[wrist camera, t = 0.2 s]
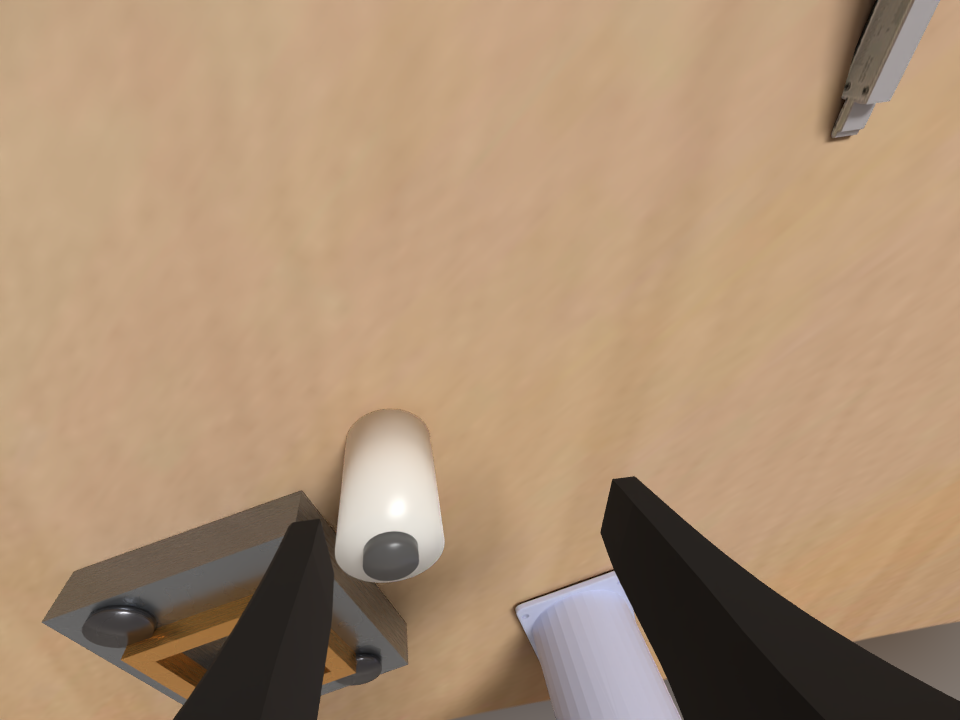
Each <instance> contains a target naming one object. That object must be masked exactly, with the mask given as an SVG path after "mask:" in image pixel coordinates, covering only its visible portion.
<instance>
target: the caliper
mask: <svg viewBox="0 0 960 720" xmlns="http://www.w3.org/2000/svg"><path fill="white" fill-rule="evenodd" d="M939 1H940V0H876V2H875V4H874V6H873V9H872V11H871V13H870V16H869V18H868V20H867V23H866V25H865V28H864V30H863V32H862V35H861V37H860V39H859V42H858V44H857V46H856V49H855V52H854V56H853V59H852V63H851V66H850V70H849V73H848V77H847V80H846V84H845V87H844V91H843V94H842V99H845V100H846V101H845V103H844V105H843V107H842V110H841V112H840V114H839V116H838V118H837V120H836V123H835V125H834V128H833V131H832V133H831V136H832V138H836V137H843V136H849V135H856V134H857V133H858V132H859V130H860V129H864V127H865V125H866V123H867V121H868V119H869V117H870V115H871V113H872V110H873V108H874V106H875V104H876V103H880V102H887V101H890V100H891V98H892V96H893V94H894V92H895V90H896V88H897V86H898V84H899V82H900V80H901V78H902V76H903V74H904V72H905V70H906V68H907V66H908V64H909V62H910V60H911V58H912V56H913V54H914V52H915V50H916V48H917V46H918V44H919V42H920V40H921V38H922V36H923V34H924V32H925V30H926V28H927V26H928V24H929V21H930V19H931V17H932V15H933V13H934V11H935V9H936V7H937V5H938V3H939Z"/></svg>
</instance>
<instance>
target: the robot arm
mask: <svg viewBox="0 0 960 720" xmlns="http://www.w3.org/2000/svg"><path fill="white" fill-rule="evenodd" d="M601 535H602V538H603V541H604V544H605V547H606V550H607V552H608V555H609V558H610V561H611V563H612V566H613V568H614V571H612V572H609V573H606V574H604V575H601V576H598V577H595V578H592V579H590V580H587V581H584V582H581V583H578V584H576V585H573V586H570V587H567V588H564V589H562V590H559V591H556V592H553V593H550V594H548V595H545V596H542V597H539V598H536V599H533V600H531V601H528V602H525V603H522V604H520V605H518V606H517V607H516V609H515V610H516V614H517V617H518V619H519V621H520V623H521V625H522V627H523V629H524V631H525V633H526V635H527V637H528V639H529V641H530V643H531V645H532V647H533V649H534V651H535V653H536V655H537V657H538V659H539V661H540V663H541V667H542V670H543V674H544V678H545V681H546V685H547V689H548V692H549V696H550V700H551V703H552V707H553V710H554V714H555V718H556V720H682V719H681V717H680V715H679V713H678V711H677V709H676V706H675V704H674V702H673V700H672V698H671V696H670V694H669V692H668V689H667V687H666V685H665V683H664V681H663V679H662V677H661V675H660V673H659V670H658V668H657V666H656V664H655V662H654V660H653V658H652V656H651V654H650V651H649V649H648V647H647V645H646V643H645V641H644V639H643V637H642V634H641V632H640V630H639V628H638V626H637V624H636V621H635V616H634V612H635V614H636V616H637V618H638V620H639V622H640V624H641V626H642V628H643V630H644V632H645V634H646V636H647V638H648V640H649V642H650V644H651V646H652V647H653V649H654V651H655V653H656V655H657V657H658V659H659V661H660V664H661V666H662V668H663V670H664V672H665V674H666V677H667V679H668V681H669V683H670V686H671V688H672V691H673V693H674V696H675V698H676V701H677V703H678V706H679V708H680V710H681V713H682V715H683V718H684V720H960V701H958V700H956V699H954V698H952V697H950V696H948V695H946V694H945V693H943V692H941V691H939V690H937V689H935V688H933V687H931V686H929V685H928V684H926V683H924V682H922V681H920V680H919V679H917V678H915V677H913V676H911V675H909V674H907V673H905V672H904V671H902V670H900V669H898V668H897V667H895V666H893V665H891V664H889V663H888V662H886V661H884V660H882V659H881V658H879V657H877V656H875V655H874V654H872V653H870V652H868V651H867V650H865V649H863V648H862V647H860V646H858V645H857V644H855V643H854V642H852V641H850V640H849V639H847V638H845V637H844V636H842V635H841V634H839V633H837V632H836V631H834V630H832V629H831V628H829V627H827V626H826V625H824V624H823V623H821V622H820V621H818V620H817V619H815V618H813V617H812V616H810V615H809V614H807V613H806V612H804V611H803V610H801V609H800V608H798V607H797V606H796V605H794V604H793V603H791V602H790V601H788V600H787V599H785V598H784V597H782V596H781V595H779V594H778V593H776V592H775V591H774V590H772V589H771V588H769V587H768V586H767V585H765V584H764V583H763V582H761V581H760V580H758V579H757V578H756V577H754V576H753V575H752V574H750V573H749V572H748V571H747V570H745V569H744V568H743V567H741V566H740V565H739V564H737V563H736V562H735V561H733V560H732V559H731V558H730V557H728V556H727V555H726V554H725V553H723V552H722V551H721V550H720V549H718V548H717V547H716V546H715V545H713V544H712V543H711V542H710V541H709V540H707V539H706V538H705V537H704V536H703V535H701V534H700V533H699V532H698V531H697V530H695V529H694V528H693V527H692V526H691V525H690V524H688V523H687V522H686V521H685V520H684V519H683V518H681V517H680V516H679V515H678V514H677V513H676V512H675V511H673V510H672V509H671V508H670V507H669V506H668V505H667V504H665V503H664V502H663V501H662V500H661V499H660V498H659V497H658V496H656V495H655V494H654V493H653V492H652V491H651V490H650V489H648V488H647V487H646V486H645V485H644V484H643V483H642V482H641V481H639V480H638V479H637V478H636V477H635V476H633V477H626V478H618V479H612V483H611V488H610V492H609V497H608V501H607V505H606V510H605V514H604V519H603V523H602V528H601ZM333 589H334V571H333V567H332V563H331V559H330V555H329V551H328V547H327V543H326V539H325V535H324V531H323V527H322V523H321V519H314V520H306V521H299V522H293V523H292V524H291V525H289V526H288V529H287V531H286V533H285V535H284V537H283V539H282V541H281V543H280V545H279V547H278V549H277V551H276V553H275V555H274V557H273V559H272V561H271V563H270V565H269V567H268V569H267V571H266V572H265V574H264V576H263V578H262V580H261V582H260V584H259V585H258V587H257V589H256V591H255V592H254V594H253V596H252V598H251V599H250V601H249V603H248V605H247V606H246V608H245V610H244V611H243V613H242V615H241V617H240V618H239V620H238V622H237V623H236V625H235V627H234V628H233V630H232V632H231V633H230V635H229V636H228V638H227V640H226V641H225V643H224V644H223V646H222V647H221V649H220V651H219V652H218V654H217V655H216V657H215V658H214V660H213V662H212V663H211V665H210V666H209V668H208V670H207V671H206V673H205V674H204V676H203V677H202V679H201V680H200V681H199V683H198V684H197V686H196V687H195V689H194V690H193V692H192V693H191V695H190V696H189V698H188V699H187V701H186V702H185V703H184V705H183V706H182V708H181V709H180V710H179V712H178V713H177V715H176V716H175V717H174V719H173V720H317V716H318V709H319V703H320V696H321V690H322V683H323V677H324V670H325V664H326V657H327V650H328V643H329V637H330V630H331V623H332V610H333ZM633 610H634V611H633Z"/></svg>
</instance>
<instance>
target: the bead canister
mask: <svg viewBox="0 0 960 720" xmlns="http://www.w3.org/2000/svg"><path fill="white" fill-rule="evenodd" d="M443 549H444V533H443V526H442V518H441V511H440V504H439V497H438V489H437V482H436V475H435V468H434V460H433V453H432V446H431V438H430V433H429V430H428V428H427V426H426V424H425V423H424V422H423V421H422V420H421V419H420V418H419V417H417V416H416V415H414V414H412V413H410V412H407V411H403V410H398V409H382V410H377V411H374V412H371V413H369V414H366V415H365V416H363V417H361V418H360V419H358V420H357V421H356V422H355V423H354V424H353V425H352V427H351V428H350V430H349V432H348V434H347V438H346V446H345V456H344V466H343V475H342V485H341V495H340V505H339V515H338V524H337V534H336V544H335V558H336V561H337V563H338V565H339V566H340V568H341V569H342V570H343V571H345V572H346V573H347V574H349V575H351V576H352V577H355V578H357V579H360V580H363V581H368V582H376V583H387V582H396V581H401V580H405V579H408V578H411V577H414V576H416V575H418V574H420V573H422V572H424V571H425V570H427V569H428V568H430V567H431V566H432V565H433V564H434V563H435V562H436V561H437V560H438V559H439V557H440V556H441V554H442V552H443Z"/></svg>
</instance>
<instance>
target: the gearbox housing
mask: <svg viewBox="0 0 960 720" xmlns="http://www.w3.org/2000/svg"><path fill="white" fill-rule="evenodd" d="M314 519H321V523H322V527H323V531H324V535H325V539H326V543H327V547H328V551H329V555H330V559H331V563H332V567H333V571H334V589H333V610H332V623H331V630H330V637H329V643H328V650H327V657H326V664H325V670H324V677H323V683H322V690H321V695H324V694H327V693H329V692H332V691H335V690H338V689H341V688H343V687H346V686H349V685H360V684H364V683H367V682H370V681H372V680H374V679H375V678H377V677H378V676H379V675H380V674H383V673H385V672H388V671H391V670H394V669H397V668H400V667H402V666H405V665H408V647H407V625H406V623H405V621H404V620H403V619H402V617H401V616H400V615H399V614H398V612H397V611H396V610H395V609H394V607H393V606H392V605H391V603H390V602H389V601H388V600H387V598H386V597H385V596H384V594H383V593H382V592H381V591H380V589H379V588H378V587H377V586H376V584H375V583H374V582H368V581H363V580H360V579H357V578H355V577H352V576H351V575H349V574H347V573H346V572H345V571H343V570H342V569H341V568H340V566H339V565H338V563H337V561H336V558H335V544H336V533H335V532H334V531H333V530H332V528H331V527H330V526H329V524H328V523H327V522H326V521H325V519H324V518H323V517H322V516H321V514H320V513H319V512H318V510H317V509H316V508H315V507H314V505H313V504H312V503H311V501H310V500H309V499H308V498H307V496H306V495H305V494H304V493H303V491H299V492H296V493H293V494H290V495H288V496H285V497H282V498H279V499H276V500H274V501H271V502H268V503H265V504H262V505H260V506H257V507H254V508H251V509H248V510H246V511H243V512H240V513H237V514H234V515H232V516H229V517H226V518H223V519H220V520H217V521H215V522H212V523H209V524H206V525H203V526H201V527H198V528H195V529H192V530H189V531H187V532H184V533H181V534H178V535H175V536H173V537H170V538H167V539H164V540H161V541H159V542H156V543H153V544H150V545H147V546H144V547H142V548H139V549H136V550H133V551H130V552H128V553H125V554H122V555H119V556H116V557H114V558H111V559H108V560H105V561H102V562H100V563H97V564H94V565H91V566H88V567H86V568H83V569H80V570H77V571H74V572H73V574H72V575H71V577H70V578H69V580H68V581H67V583H66V585H65V586H64V588H63V589H62V591H61V592H60V594H59V596H58V597H57V599H56V600H55V602H54V603H53V605H52V607H51V608H50V610H49V611H48V613H47V614H46V616H45V618H44V619H43V621H42V623H44V624H45V625H47V626H49V627H50V628H52V629H54V630H56V631H57V632H59V633H61V634H62V635H64V636H66V637H68V638H69V639H71V640H73V641H74V642H76V643H78V644H80V645H81V646H83V647H85V648H86V649H88V650H90V651H92V652H93V653H95V654H97V655H98V656H100V657H102V658H104V659H105V660H107V661H109V662H110V663H112V664H114V665H116V666H117V667H119V668H121V669H122V670H124V671H126V672H128V673H129V674H131V675H133V676H134V677H136V678H138V679H140V680H141V681H143V682H145V683H146V684H148V685H150V686H152V687H153V688H155V689H157V690H158V691H160V692H162V693H164V694H165V695H167V696H169V697H170V698H172V699H174V700H176V701H177V702H179V703H181V704H182V705H184V703H185V702H186V701H187V699H188V698H189V696H190V695H191V693H192V692H193V690H194V689H195V687H196V686H197V684H198V683H199V681H200V680H201V679H202V677H203V676H204V674H205V673H206V671H207V670H208V668H209V666H210V665H211V663H212V662H213V660H214V658H215V657H216V655H217V654H218V652H219V651H220V649H221V647H222V646H223V644H224V643H225V641H226V640H227V638H228V636H229V635H230V633H231V632H232V630H233V628H234V627H235V625H236V623H237V622H238V620H239V618H240V617H241V615H242V613H243V611H244V610H245V608H246V606H247V605H248V603H249V601H250V599H251V598H252V596H253V594H254V592H255V591H256V589H257V587H258V585H259V584H260V582H261V580H262V578H263V576H264V574H265V572H266V571H267V569H268V567H269V565H270V563H271V561H272V559H273V557H274V555H275V553H276V551H277V549H278V547H279V545H280V543H281V541H282V539H283V537H284V535H285V533H286V531H287V529H288V526H289V525H291V524H292V523H293V522H299V521H306V520H314Z"/></svg>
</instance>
